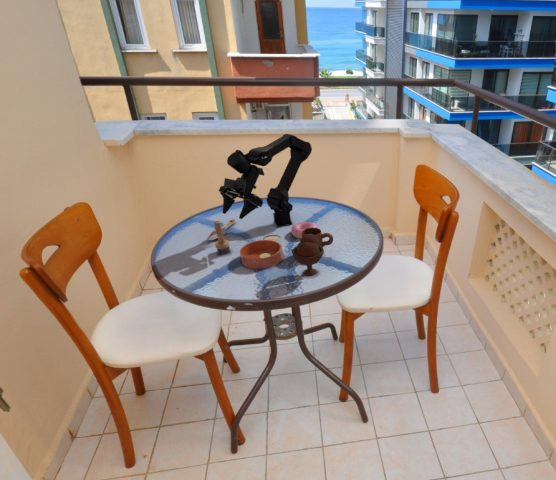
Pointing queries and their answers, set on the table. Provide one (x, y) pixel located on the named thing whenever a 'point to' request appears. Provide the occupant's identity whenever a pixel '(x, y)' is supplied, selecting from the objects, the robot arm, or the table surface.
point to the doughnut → (301, 228)
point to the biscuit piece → (264, 255)
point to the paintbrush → (214, 235)
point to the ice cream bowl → (308, 253)
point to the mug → (319, 236)
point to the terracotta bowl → (259, 247)
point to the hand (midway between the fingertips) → (231, 216)
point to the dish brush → (221, 240)
